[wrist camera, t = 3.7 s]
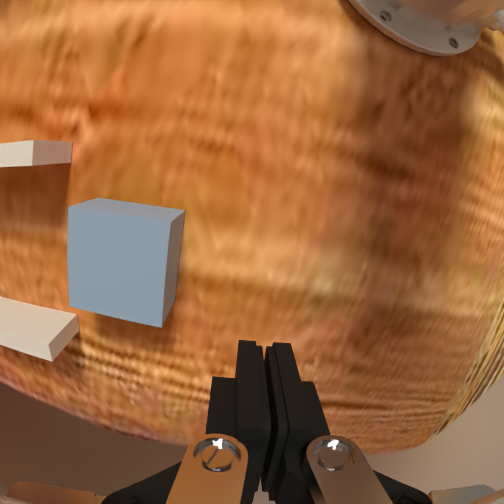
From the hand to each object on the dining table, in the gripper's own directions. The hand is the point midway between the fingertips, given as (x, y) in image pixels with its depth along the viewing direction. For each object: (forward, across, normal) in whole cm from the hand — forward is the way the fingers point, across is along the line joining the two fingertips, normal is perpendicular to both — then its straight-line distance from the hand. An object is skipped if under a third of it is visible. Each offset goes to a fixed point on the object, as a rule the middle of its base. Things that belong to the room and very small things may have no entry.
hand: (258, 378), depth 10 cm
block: (+11, +8, -1) cm, 13 cm away
